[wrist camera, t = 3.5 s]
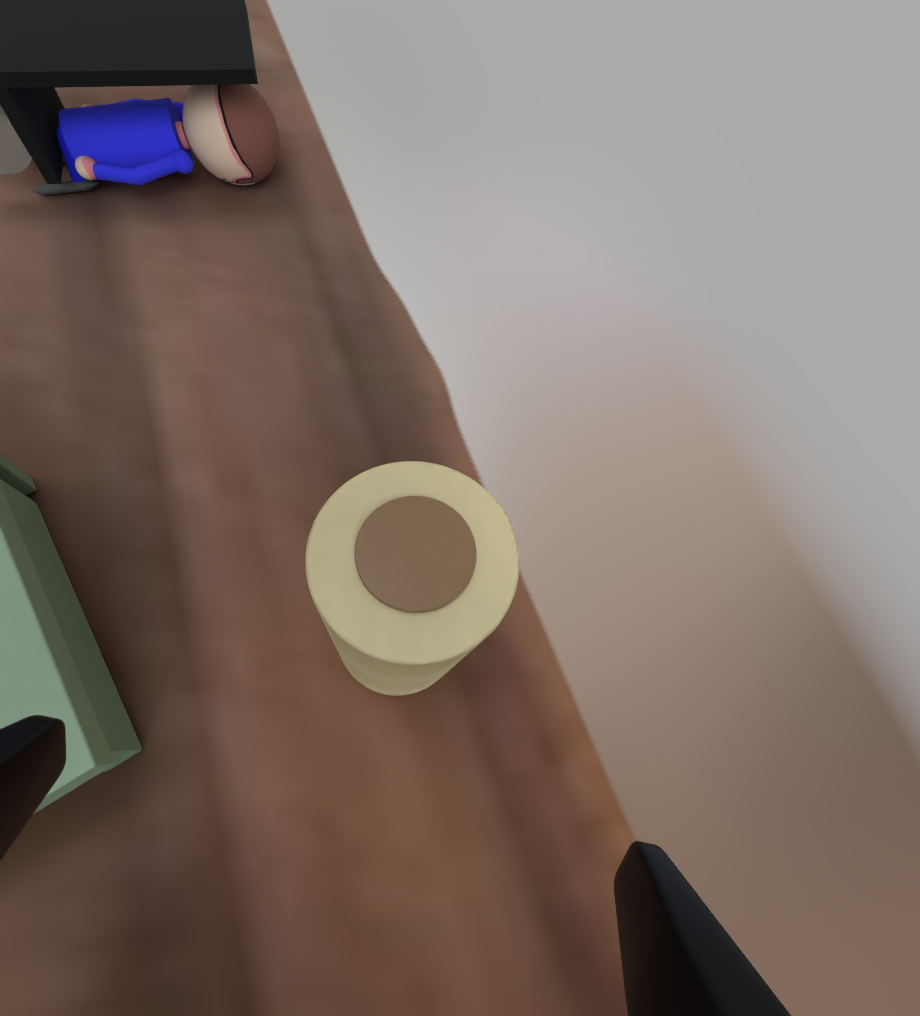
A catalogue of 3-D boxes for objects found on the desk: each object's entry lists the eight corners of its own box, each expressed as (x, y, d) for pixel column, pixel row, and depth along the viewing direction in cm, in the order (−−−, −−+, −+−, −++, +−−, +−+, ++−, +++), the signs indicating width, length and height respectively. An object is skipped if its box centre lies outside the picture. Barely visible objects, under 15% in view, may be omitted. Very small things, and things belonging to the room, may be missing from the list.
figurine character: (18, 246, 27) (296, 208, 29) (-130, 81, 20) (251, 46, 22) (26, 167, 29) (282, 137, 31) (-103, -5, 22) (237, -29, 24)
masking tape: (429, 718, 19) (474, 704, 10) (312, 661, 19) (257, 600, 10) (478, 601, 21) (550, 508, 12) (373, 552, 21) (370, 425, 13)
